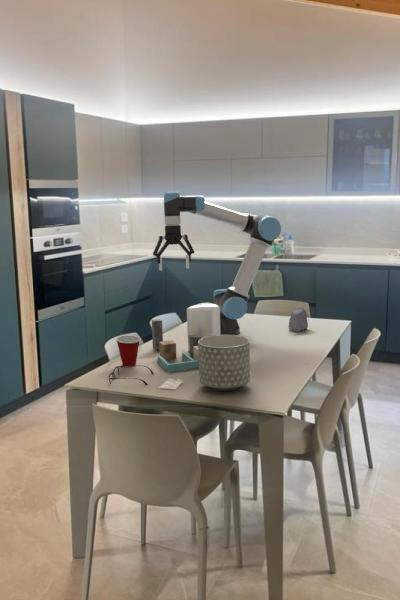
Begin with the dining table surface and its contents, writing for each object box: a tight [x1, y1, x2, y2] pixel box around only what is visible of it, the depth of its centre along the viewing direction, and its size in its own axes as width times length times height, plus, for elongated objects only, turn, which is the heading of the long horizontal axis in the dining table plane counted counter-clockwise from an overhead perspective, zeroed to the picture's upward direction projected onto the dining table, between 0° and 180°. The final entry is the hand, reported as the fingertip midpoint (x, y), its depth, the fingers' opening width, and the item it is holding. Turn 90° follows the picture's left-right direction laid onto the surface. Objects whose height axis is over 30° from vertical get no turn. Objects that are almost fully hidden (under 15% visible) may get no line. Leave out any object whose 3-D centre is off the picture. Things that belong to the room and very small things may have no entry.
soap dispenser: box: [186, 302, 221, 351], centre depth 267 cm, size 15×14×22 cm
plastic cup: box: [115, 335, 142, 367], centre depth 246 cm, size 11×11×12 cm
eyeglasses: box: [108, 365, 155, 386], centre depth 227 cm, size 16×16×4 cm
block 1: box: [151, 318, 177, 361], centre depth 262 cm, size 6×22×14 cm, turn 20°
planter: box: [198, 334, 251, 392], centre depth 213 cm, size 19×19×18 cm
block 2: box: [189, 334, 201, 360], centre depth 250 cm, size 6×14×10 cm, turn 20°
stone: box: [288, 308, 309, 332], centre depth 301 cm, size 12×10×10 cm
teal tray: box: [157, 352, 199, 373], centre depth 246 cm, size 24×15×3 cm, turn 110°
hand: (174, 269), depth 275 cm, fingers open, 13 cm apart
